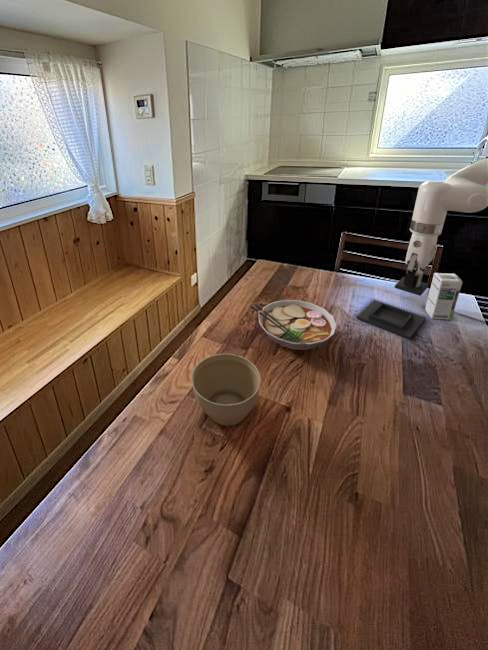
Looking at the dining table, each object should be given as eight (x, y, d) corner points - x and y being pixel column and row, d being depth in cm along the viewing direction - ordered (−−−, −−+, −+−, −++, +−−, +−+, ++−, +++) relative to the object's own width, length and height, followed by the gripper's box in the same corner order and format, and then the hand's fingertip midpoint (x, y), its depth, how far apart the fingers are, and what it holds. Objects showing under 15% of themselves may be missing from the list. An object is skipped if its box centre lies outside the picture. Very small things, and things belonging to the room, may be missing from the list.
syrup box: (431, 319, 110) (442, 280, 104) (424, 309, 115) (434, 271, 109) (451, 320, 109) (463, 281, 103) (443, 310, 114) (454, 272, 108)
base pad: (425, 320, 110) (426, 314, 109) (409, 340, 102) (411, 334, 101) (373, 302, 121) (374, 297, 120) (356, 318, 113) (357, 313, 112)
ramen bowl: (353, 349, 100) (357, 327, 96) (293, 378, 91) (295, 354, 88) (295, 309, 120) (296, 289, 117) (241, 329, 112) (241, 308, 109)
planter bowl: (210, 377, 93) (208, 346, 89) (267, 397, 86) (269, 364, 81) (182, 423, 81) (178, 389, 76) (246, 450, 73) (247, 415, 69)
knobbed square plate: (428, 287, 103) (432, 270, 100) (420, 296, 99) (424, 279, 96) (402, 279, 108) (406, 263, 105) (394, 288, 104) (398, 271, 101)
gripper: (432, 238, 87) (417, 298, 95) (450, 221, 97) (435, 277, 105) (400, 231, 93) (388, 289, 100) (420, 216, 102) (408, 269, 110)
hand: (412, 282), depth 102 cm, fingers closed on knobbed square plate, 4 cm apart
